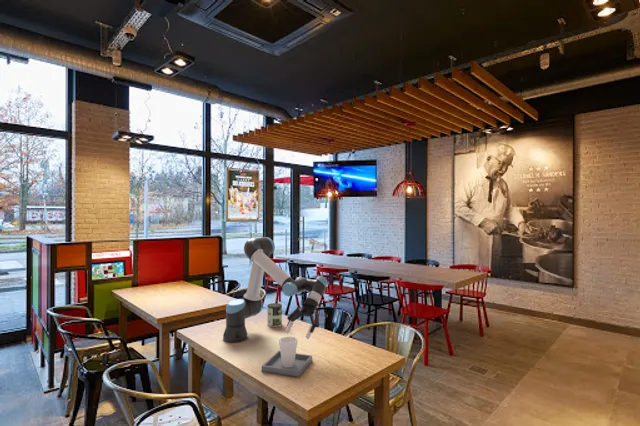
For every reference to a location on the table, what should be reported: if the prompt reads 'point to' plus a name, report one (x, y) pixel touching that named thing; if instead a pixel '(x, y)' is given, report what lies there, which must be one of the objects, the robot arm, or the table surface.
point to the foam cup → (288, 350)
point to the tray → (295, 371)
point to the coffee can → (274, 315)
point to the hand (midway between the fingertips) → (296, 335)
